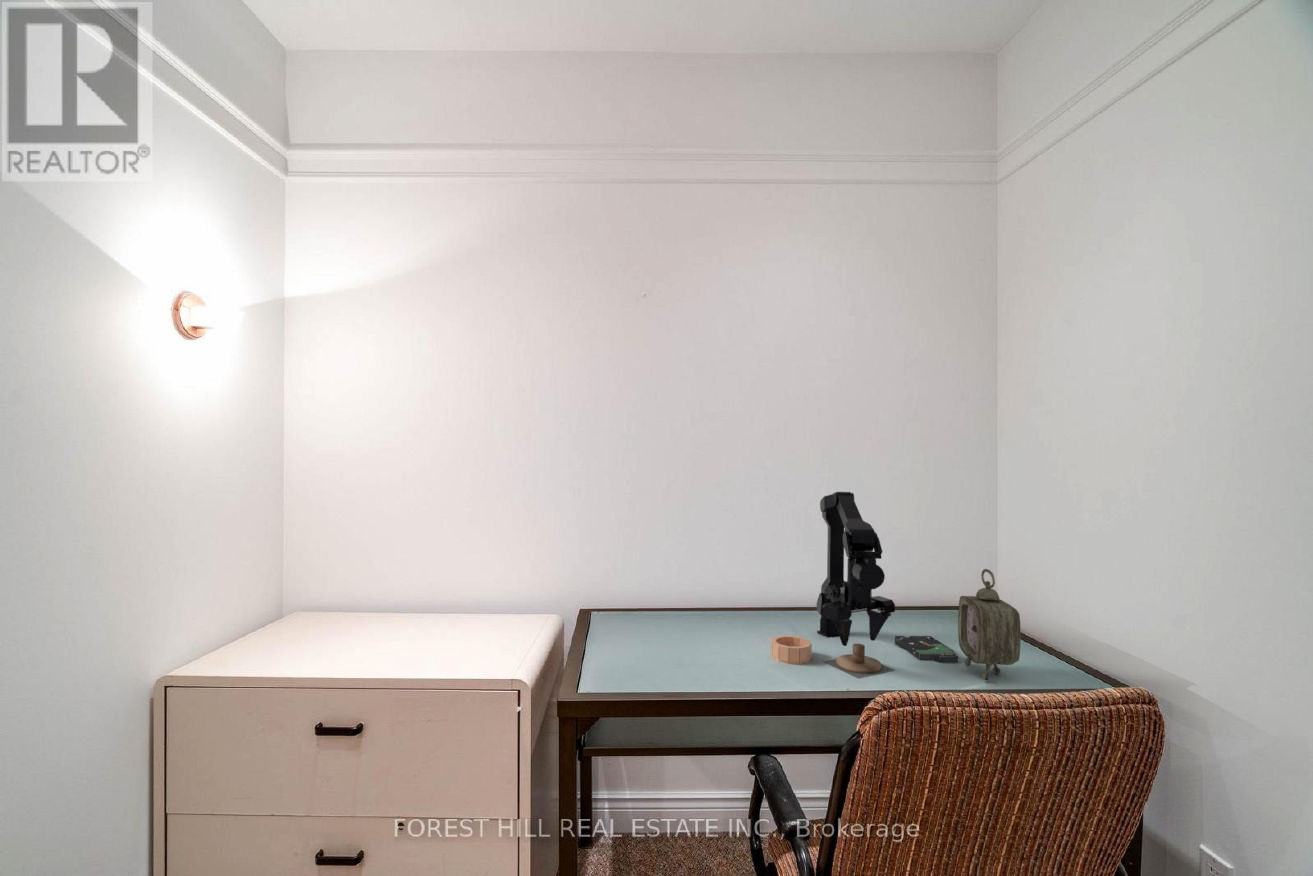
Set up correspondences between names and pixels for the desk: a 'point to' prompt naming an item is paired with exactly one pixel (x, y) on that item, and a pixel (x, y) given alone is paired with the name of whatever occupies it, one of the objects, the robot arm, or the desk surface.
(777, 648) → the bowl
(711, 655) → the desk surface
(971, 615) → the tabletop clock
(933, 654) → the disk drive
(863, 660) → the lid
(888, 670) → the trivet
